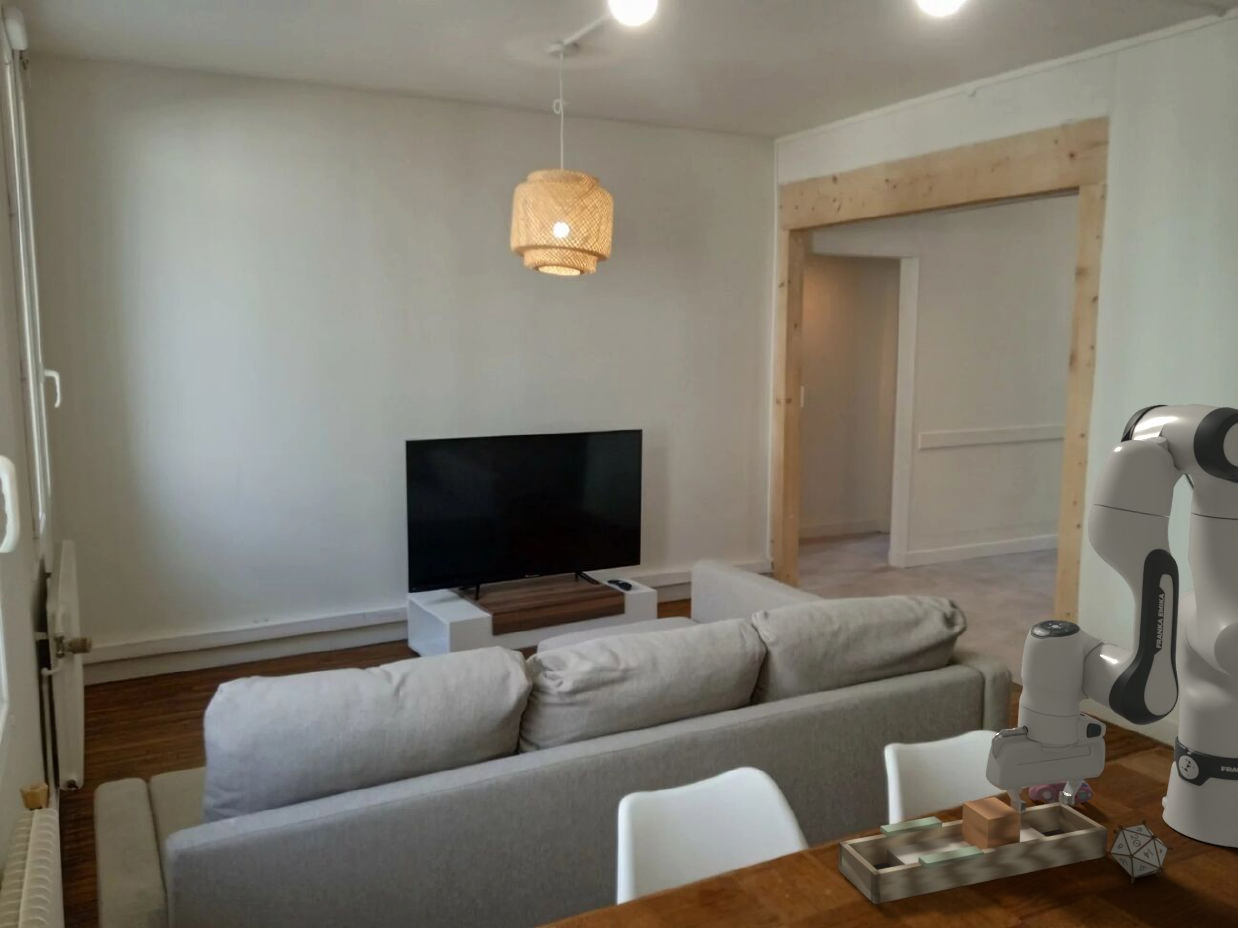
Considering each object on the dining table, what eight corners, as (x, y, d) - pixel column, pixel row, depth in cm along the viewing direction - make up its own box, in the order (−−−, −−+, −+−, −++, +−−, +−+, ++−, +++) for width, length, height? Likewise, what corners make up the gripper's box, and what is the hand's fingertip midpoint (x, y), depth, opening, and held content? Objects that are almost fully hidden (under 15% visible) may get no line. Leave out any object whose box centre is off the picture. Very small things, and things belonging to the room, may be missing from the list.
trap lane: (1055, 824, 163) (1056, 794, 163) (1111, 859, 152) (1112, 826, 151) (834, 866, 150) (835, 833, 150) (878, 907, 139) (878, 872, 138)
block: (993, 832, 156) (994, 796, 155) (1019, 850, 150) (1020, 813, 149) (961, 838, 154) (963, 802, 153) (987, 856, 148) (988, 819, 147)
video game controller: (1031, 813, 170) (1038, 787, 167) (1025, 792, 174) (1032, 766, 171) (1090, 816, 169) (1099, 790, 165) (1083, 795, 173) (1091, 768, 169)
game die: (1150, 903, 146) (1188, 873, 139) (1094, 879, 147) (1129, 848, 141) (1147, 852, 153) (1183, 821, 146) (1093, 829, 154) (1126, 797, 147)
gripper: (1007, 738, 147) (1001, 825, 148) (1114, 724, 153) (1108, 808, 154) (979, 723, 153) (974, 806, 154) (1084, 710, 159) (1078, 790, 160)
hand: (1042, 807), depth 154 cm, fingers open, 8 cm apart
